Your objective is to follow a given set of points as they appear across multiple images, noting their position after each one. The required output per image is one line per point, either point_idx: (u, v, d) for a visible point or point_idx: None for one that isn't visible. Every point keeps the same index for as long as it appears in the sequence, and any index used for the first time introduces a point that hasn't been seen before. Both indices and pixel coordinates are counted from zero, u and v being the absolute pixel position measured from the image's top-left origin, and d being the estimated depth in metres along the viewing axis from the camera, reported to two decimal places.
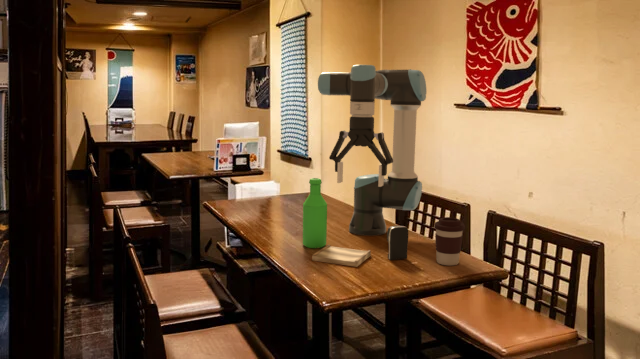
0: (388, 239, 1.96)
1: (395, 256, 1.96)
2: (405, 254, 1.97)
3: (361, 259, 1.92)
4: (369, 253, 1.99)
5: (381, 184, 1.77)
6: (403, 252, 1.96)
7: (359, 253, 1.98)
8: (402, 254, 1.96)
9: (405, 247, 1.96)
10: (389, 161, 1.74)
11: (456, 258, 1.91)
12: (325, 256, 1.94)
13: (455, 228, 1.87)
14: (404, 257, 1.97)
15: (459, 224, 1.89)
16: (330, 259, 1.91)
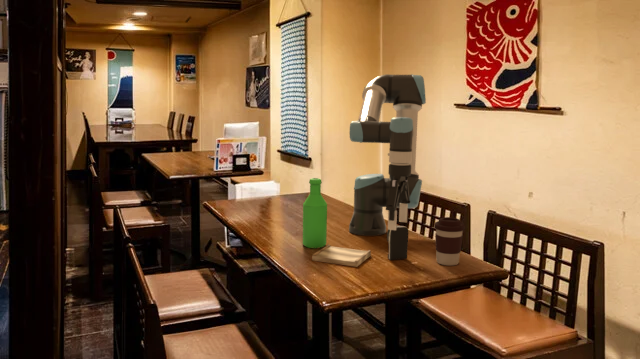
0: (388, 239, 1.96)
1: (395, 256, 1.96)
2: (405, 254, 1.97)
3: (361, 259, 1.92)
4: (369, 253, 1.99)
5: (390, 228, 1.89)
6: (403, 252, 1.96)
7: (359, 253, 1.98)
8: (402, 254, 1.96)
9: (405, 247, 1.96)
10: (386, 207, 1.86)
11: (456, 258, 1.91)
12: (325, 256, 1.94)
13: (455, 228, 1.87)
14: (404, 257, 1.97)
15: (459, 224, 1.89)
16: (330, 259, 1.91)
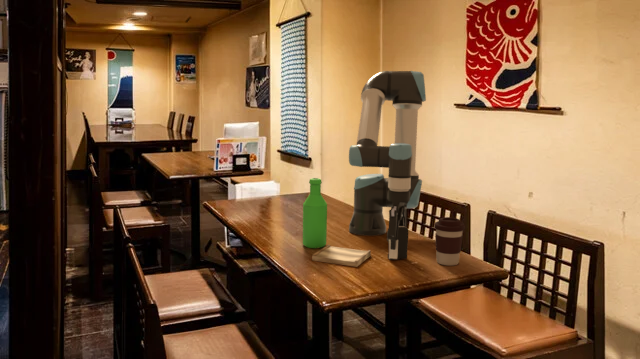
0: (388, 239, 1.96)
1: None
2: (405, 254, 1.97)
3: (361, 259, 1.92)
4: (369, 253, 1.99)
5: (391, 256, 1.94)
6: (403, 252, 1.96)
7: (359, 253, 1.98)
8: (402, 254, 1.96)
9: (405, 247, 1.96)
10: (388, 237, 1.91)
11: (456, 258, 1.91)
12: (325, 256, 1.94)
13: (455, 228, 1.87)
14: (404, 257, 1.97)
15: (459, 224, 1.89)
16: (330, 259, 1.91)
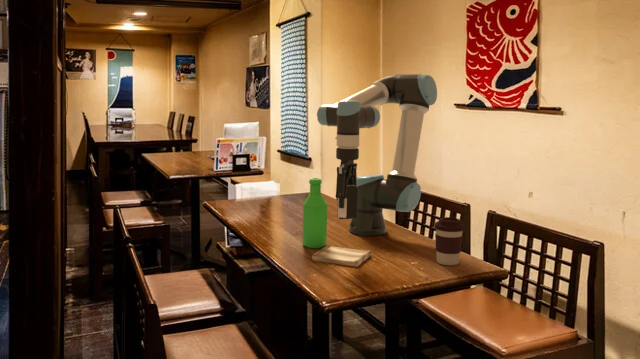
0: (337, 198, 1.93)
1: None
2: (355, 213, 1.94)
3: (361, 259, 1.92)
4: (369, 253, 1.99)
5: (340, 215, 1.91)
6: (353, 211, 1.94)
7: (359, 253, 1.98)
8: (352, 213, 1.94)
9: (354, 207, 1.94)
10: (336, 195, 1.88)
11: (456, 258, 1.91)
12: (325, 256, 1.94)
13: (455, 228, 1.87)
14: (354, 216, 1.94)
15: (459, 224, 1.89)
16: (330, 259, 1.91)
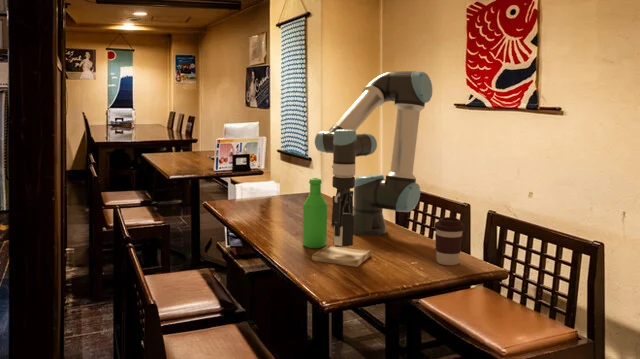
0: (333, 226, 1.94)
1: None
2: (351, 241, 1.96)
3: (361, 259, 1.92)
4: (369, 253, 1.99)
5: (336, 243, 1.93)
6: (348, 239, 1.95)
7: (359, 253, 1.98)
8: (347, 241, 1.95)
9: (350, 234, 1.95)
10: None
11: (456, 258, 1.91)
12: (325, 256, 1.94)
13: (455, 228, 1.87)
14: (350, 244, 1.96)
15: (459, 224, 1.89)
16: (330, 259, 1.91)
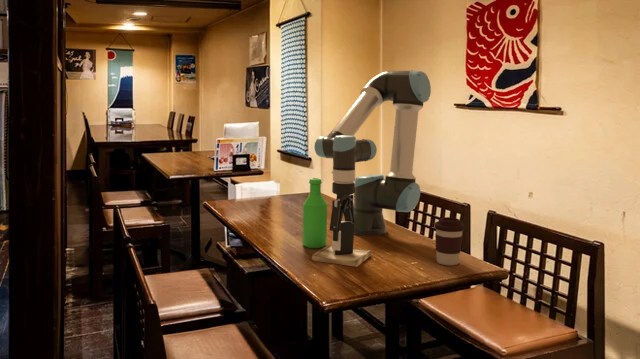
0: None
1: (340, 251, 1.95)
2: (351, 249, 1.96)
3: (361, 259, 1.92)
4: (369, 253, 1.99)
5: (334, 248, 1.92)
6: (349, 247, 1.96)
7: (359, 253, 1.98)
8: (348, 249, 1.96)
9: (350, 242, 1.96)
10: None
11: (456, 258, 1.91)
12: (325, 256, 1.94)
13: (455, 228, 1.87)
14: (350, 252, 1.96)
15: (459, 224, 1.89)
16: (330, 259, 1.91)
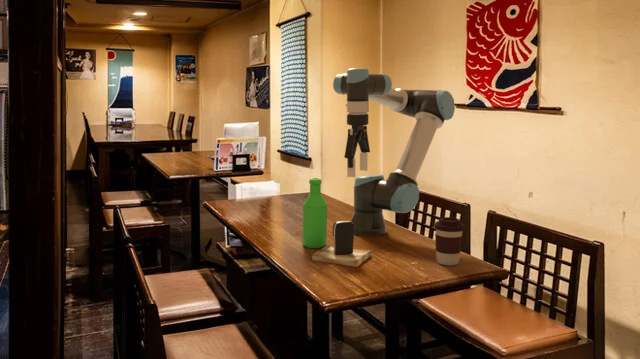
0: (333, 234, 1.95)
1: (340, 251, 1.95)
2: (351, 249, 1.96)
3: (361, 259, 1.92)
4: (369, 253, 1.99)
5: (349, 175, 1.98)
6: (349, 247, 1.96)
7: (359, 253, 1.98)
8: (348, 249, 1.96)
9: (350, 242, 1.96)
10: None
11: (456, 258, 1.91)
12: (325, 256, 1.94)
13: (455, 228, 1.87)
14: (350, 252, 1.96)
15: (459, 224, 1.89)
16: (330, 259, 1.91)
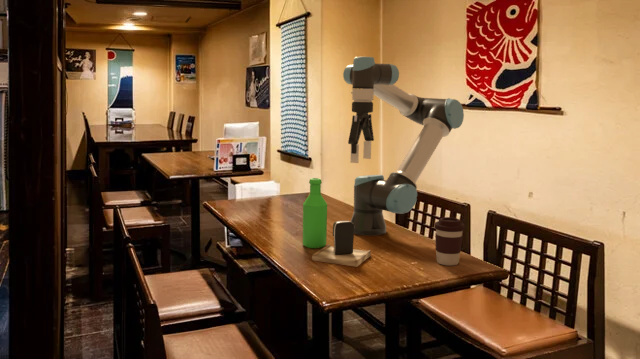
0: (333, 234, 1.95)
1: (340, 251, 1.95)
2: (351, 249, 1.96)
3: (361, 259, 1.92)
4: (369, 253, 1.99)
5: (352, 161, 2.01)
6: (349, 247, 1.96)
7: (359, 253, 1.98)
8: (348, 249, 1.96)
9: (350, 242, 1.96)
10: None
11: (456, 258, 1.91)
12: (325, 256, 1.94)
13: (455, 228, 1.87)
14: (350, 252, 1.96)
15: (459, 224, 1.89)
16: (330, 259, 1.91)
